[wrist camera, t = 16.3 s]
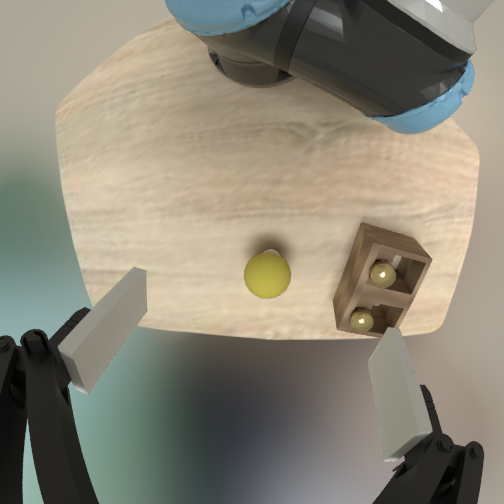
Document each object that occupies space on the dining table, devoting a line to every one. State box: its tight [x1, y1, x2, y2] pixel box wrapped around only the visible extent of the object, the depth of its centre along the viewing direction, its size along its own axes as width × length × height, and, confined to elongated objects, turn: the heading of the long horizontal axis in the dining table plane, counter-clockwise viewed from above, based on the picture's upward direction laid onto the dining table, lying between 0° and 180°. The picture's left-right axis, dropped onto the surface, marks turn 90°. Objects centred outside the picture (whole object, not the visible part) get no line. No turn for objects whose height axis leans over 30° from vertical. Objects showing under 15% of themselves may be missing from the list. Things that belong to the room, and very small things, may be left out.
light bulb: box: [244, 249, 291, 299], centre depth 42 cm, size 7×7×10 cm
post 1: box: [350, 307, 373, 333], centre depth 42 cm, size 3×3×10 cm
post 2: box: [370, 259, 396, 289], centre depth 39 cm, size 3×3×10 cm
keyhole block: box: [333, 223, 432, 338], centre depth 41 cm, size 15×10×8 cm, turn 169°
